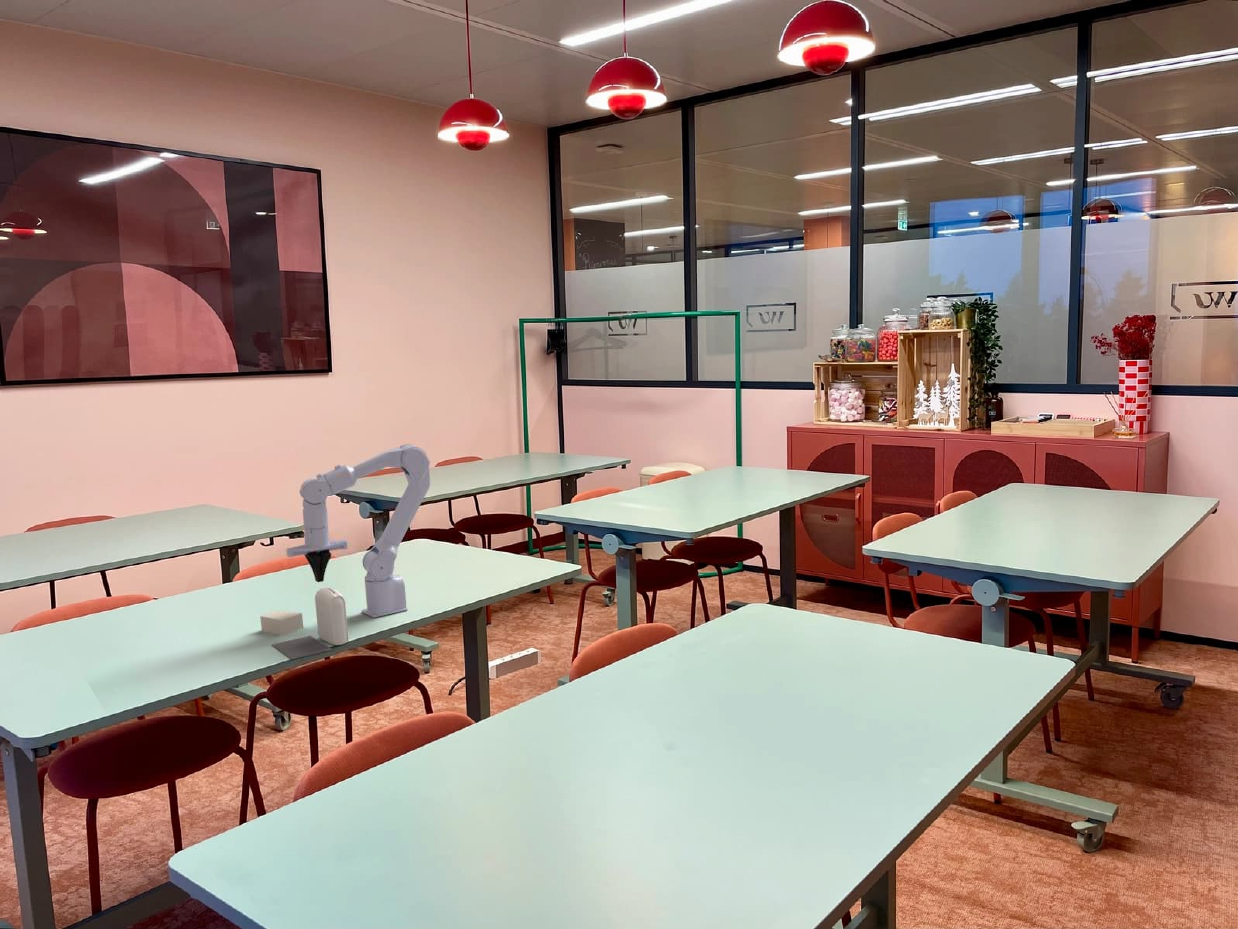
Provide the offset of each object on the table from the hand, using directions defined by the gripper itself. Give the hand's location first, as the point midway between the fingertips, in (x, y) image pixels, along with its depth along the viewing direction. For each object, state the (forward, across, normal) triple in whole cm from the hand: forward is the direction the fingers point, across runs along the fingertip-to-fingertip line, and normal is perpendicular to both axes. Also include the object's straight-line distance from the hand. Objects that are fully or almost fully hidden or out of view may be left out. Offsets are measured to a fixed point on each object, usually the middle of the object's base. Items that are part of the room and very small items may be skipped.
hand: (319, 581), depth 228 cm
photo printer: (+11, +3, +17) cm, 20 cm away
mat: (+11, +11, +17) cm, 23 cm away
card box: (+11, +10, -1) cm, 14 cm away
